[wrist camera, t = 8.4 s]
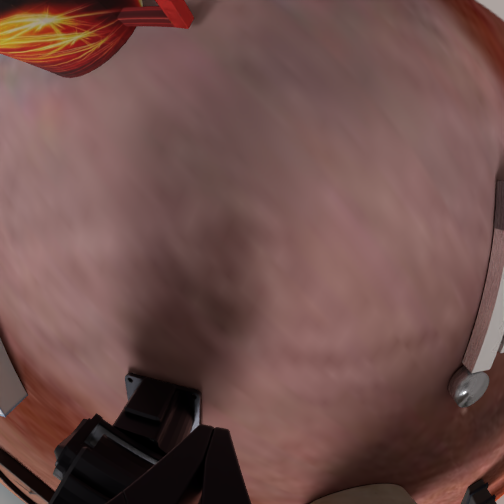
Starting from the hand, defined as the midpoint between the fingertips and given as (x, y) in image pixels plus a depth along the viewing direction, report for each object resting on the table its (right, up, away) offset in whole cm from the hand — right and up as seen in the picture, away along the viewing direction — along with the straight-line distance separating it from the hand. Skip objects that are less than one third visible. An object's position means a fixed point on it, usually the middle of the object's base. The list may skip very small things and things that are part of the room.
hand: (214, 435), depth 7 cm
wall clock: (-55, -55, +30) cm, 83 cm away
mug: (-10, +24, +8) cm, 27 cm away
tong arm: (+20, +1, +10) cm, 23 cm away
